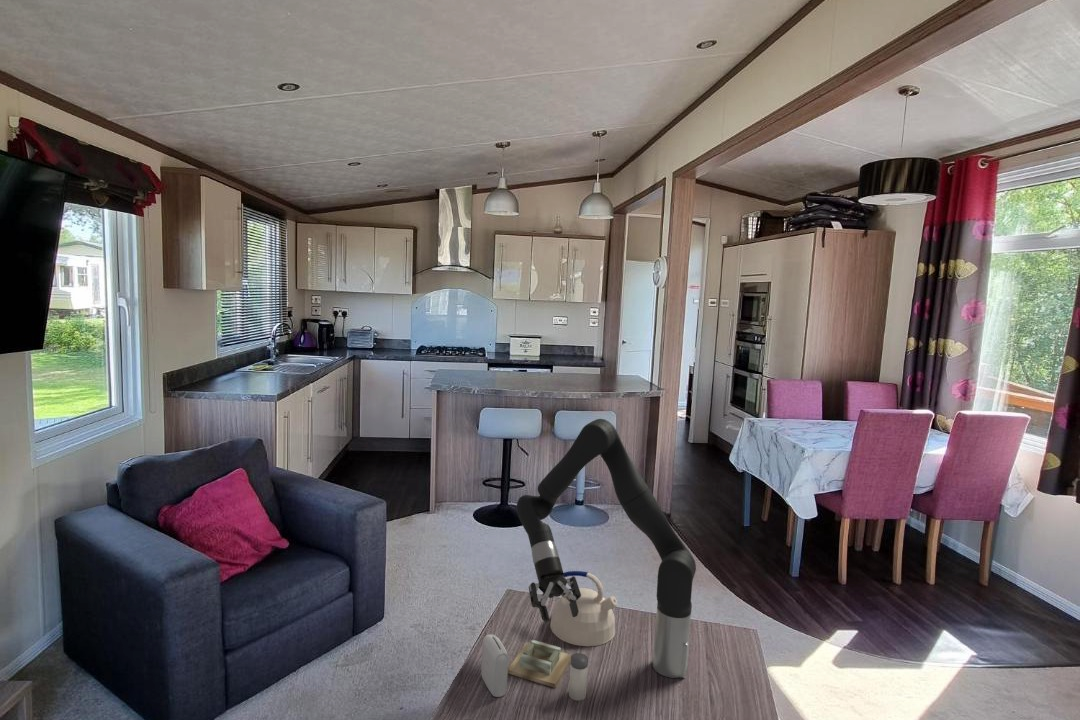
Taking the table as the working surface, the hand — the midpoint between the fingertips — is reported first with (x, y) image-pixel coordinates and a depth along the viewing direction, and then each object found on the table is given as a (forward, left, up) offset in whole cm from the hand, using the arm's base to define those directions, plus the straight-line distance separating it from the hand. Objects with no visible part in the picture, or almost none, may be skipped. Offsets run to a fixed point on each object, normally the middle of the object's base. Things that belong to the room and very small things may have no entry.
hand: (561, 618), depth 159 cm
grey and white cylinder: (-8, +8, -14) cm, 18 cm away
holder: (+5, +1, -14) cm, 15 cm away
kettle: (0, -22, -15) cm, 27 cm away
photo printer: (+13, +14, -15) cm, 24 cm away
